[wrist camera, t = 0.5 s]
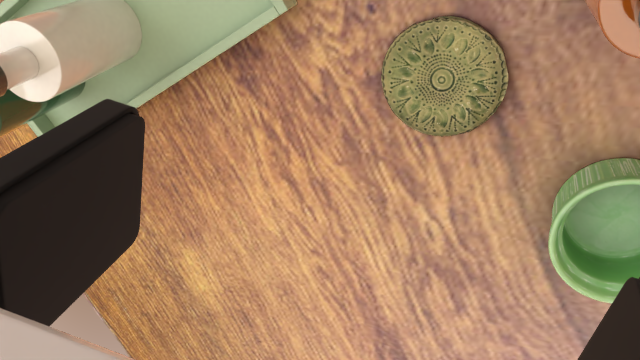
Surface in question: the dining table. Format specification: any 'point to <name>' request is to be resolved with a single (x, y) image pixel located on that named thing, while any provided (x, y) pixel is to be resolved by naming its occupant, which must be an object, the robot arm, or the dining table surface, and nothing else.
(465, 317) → the dining table surface
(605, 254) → the ramekin
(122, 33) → the frosted bottle
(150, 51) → the tray
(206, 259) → the dining table surface
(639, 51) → the amber bottle
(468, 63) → the medallion
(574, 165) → the dining table surface
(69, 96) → the green glass bottle
